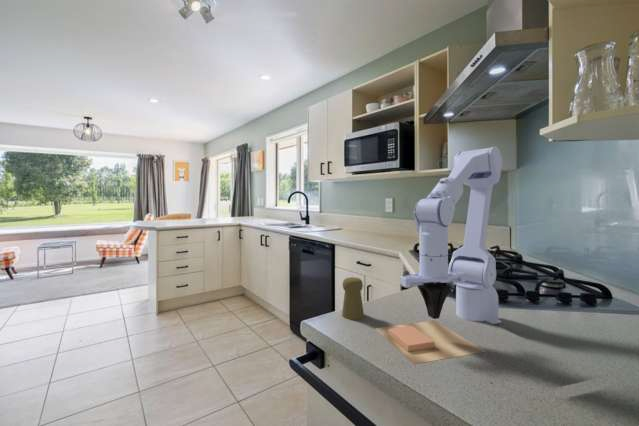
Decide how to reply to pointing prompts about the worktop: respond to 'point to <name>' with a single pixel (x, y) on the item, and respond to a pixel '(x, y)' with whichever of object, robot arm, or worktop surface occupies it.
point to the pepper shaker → (352, 299)
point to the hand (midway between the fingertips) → (433, 316)
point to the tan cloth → (444, 339)
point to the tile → (411, 338)
